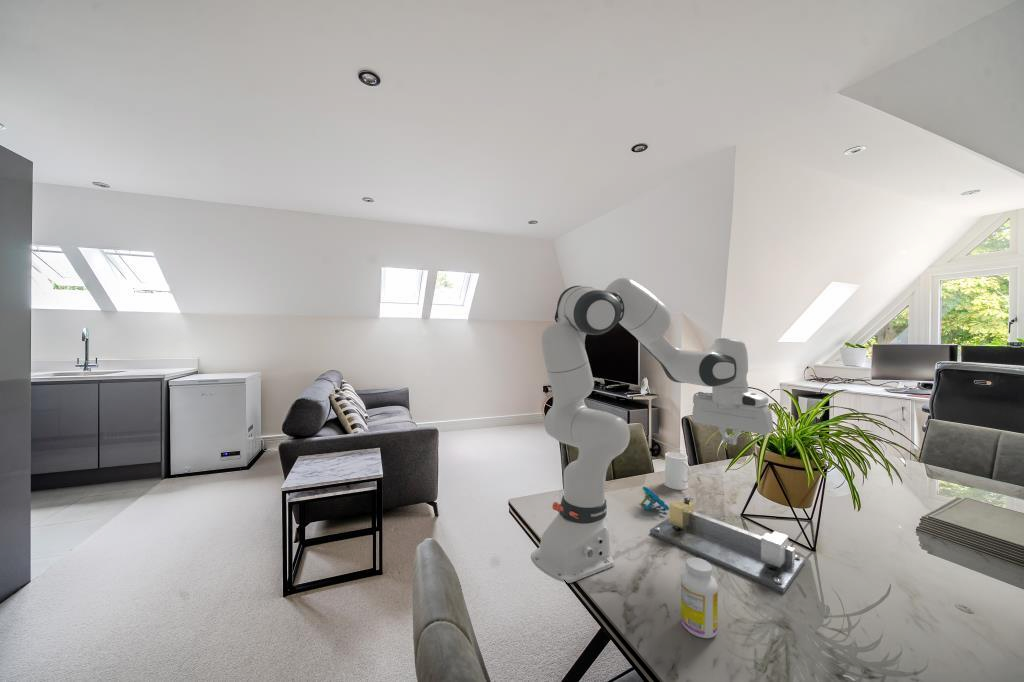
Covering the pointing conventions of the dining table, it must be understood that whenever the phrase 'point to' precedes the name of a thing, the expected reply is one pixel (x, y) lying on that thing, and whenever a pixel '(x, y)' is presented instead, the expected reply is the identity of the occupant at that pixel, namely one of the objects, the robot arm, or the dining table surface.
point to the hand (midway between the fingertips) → (729, 443)
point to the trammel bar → (748, 539)
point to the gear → (652, 499)
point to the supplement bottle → (699, 599)
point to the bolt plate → (729, 555)
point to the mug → (676, 471)
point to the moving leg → (680, 512)
